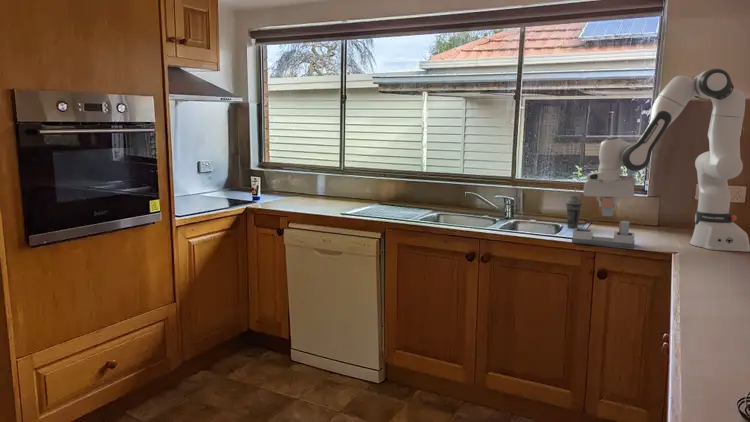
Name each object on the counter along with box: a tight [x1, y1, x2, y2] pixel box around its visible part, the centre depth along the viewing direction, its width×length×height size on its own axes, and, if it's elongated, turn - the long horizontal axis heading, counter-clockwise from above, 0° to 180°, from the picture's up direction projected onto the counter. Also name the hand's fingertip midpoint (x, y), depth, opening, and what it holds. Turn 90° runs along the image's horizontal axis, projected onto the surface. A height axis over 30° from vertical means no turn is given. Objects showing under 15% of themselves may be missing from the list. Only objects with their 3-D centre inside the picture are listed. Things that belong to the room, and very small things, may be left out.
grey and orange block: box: [601, 197, 614, 217], centre depth 233 cm, size 4×4×8 cm
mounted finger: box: [618, 220, 630, 235], centre depth 223 cm, size 4×4×8 cm
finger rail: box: [571, 227, 636, 249], centre depth 227 cm, size 24×8×5 cm, turn 63°
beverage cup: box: [565, 187, 583, 229], centre depth 261 cm, size 7×7×20 cm
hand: (607, 207), depth 233 cm, fingers closed on grey and orange block, 4 cm apart
